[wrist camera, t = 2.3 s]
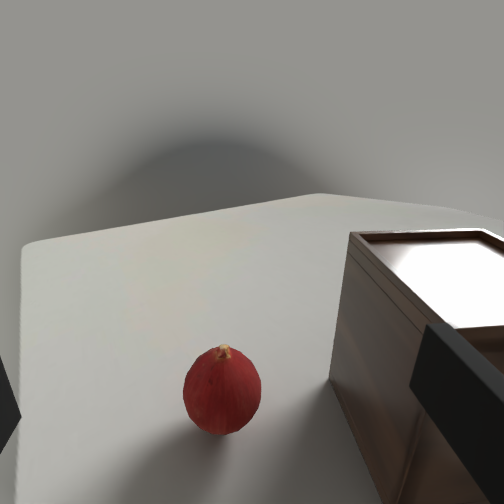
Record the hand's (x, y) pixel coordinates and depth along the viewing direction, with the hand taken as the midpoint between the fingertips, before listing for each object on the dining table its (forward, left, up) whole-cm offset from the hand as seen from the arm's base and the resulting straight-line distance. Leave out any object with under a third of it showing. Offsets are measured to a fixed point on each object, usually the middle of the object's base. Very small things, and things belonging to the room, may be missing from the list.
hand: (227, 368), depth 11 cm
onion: (0, -11, -16) cm, 19 cm away
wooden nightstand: (-16, -9, -16) cm, 24 cm away
